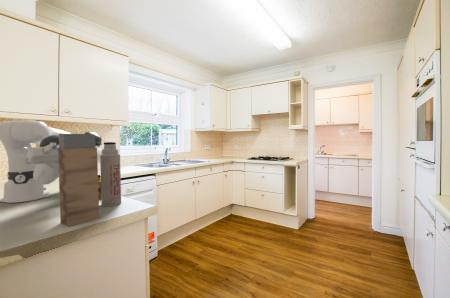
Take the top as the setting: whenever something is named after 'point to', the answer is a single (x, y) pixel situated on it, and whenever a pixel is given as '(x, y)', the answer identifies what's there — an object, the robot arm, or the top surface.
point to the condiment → (99, 187)
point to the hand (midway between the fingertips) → (69, 144)
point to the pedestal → (78, 185)
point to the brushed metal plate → (76, 141)
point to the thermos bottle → (110, 175)
